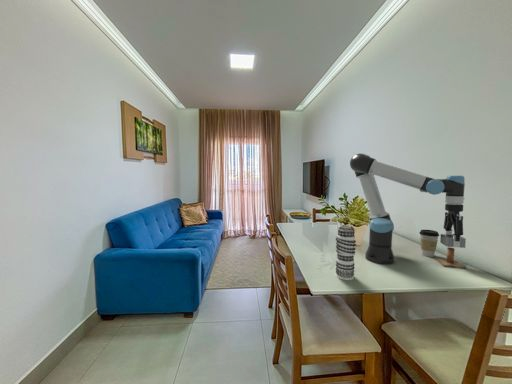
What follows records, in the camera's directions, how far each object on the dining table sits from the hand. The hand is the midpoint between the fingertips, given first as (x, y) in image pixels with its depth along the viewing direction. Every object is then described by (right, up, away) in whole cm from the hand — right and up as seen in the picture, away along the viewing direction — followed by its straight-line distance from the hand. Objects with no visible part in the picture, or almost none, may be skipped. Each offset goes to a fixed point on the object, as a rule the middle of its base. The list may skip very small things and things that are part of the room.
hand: (452, 244), depth 127 cm
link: (0, 0, 0) cm, 0 cm away
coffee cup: (-2, -10, +15) cm, 18 cm away
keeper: (0, -11, +1) cm, 11 cm away
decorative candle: (-65, -13, -14) cm, 68 cm away
